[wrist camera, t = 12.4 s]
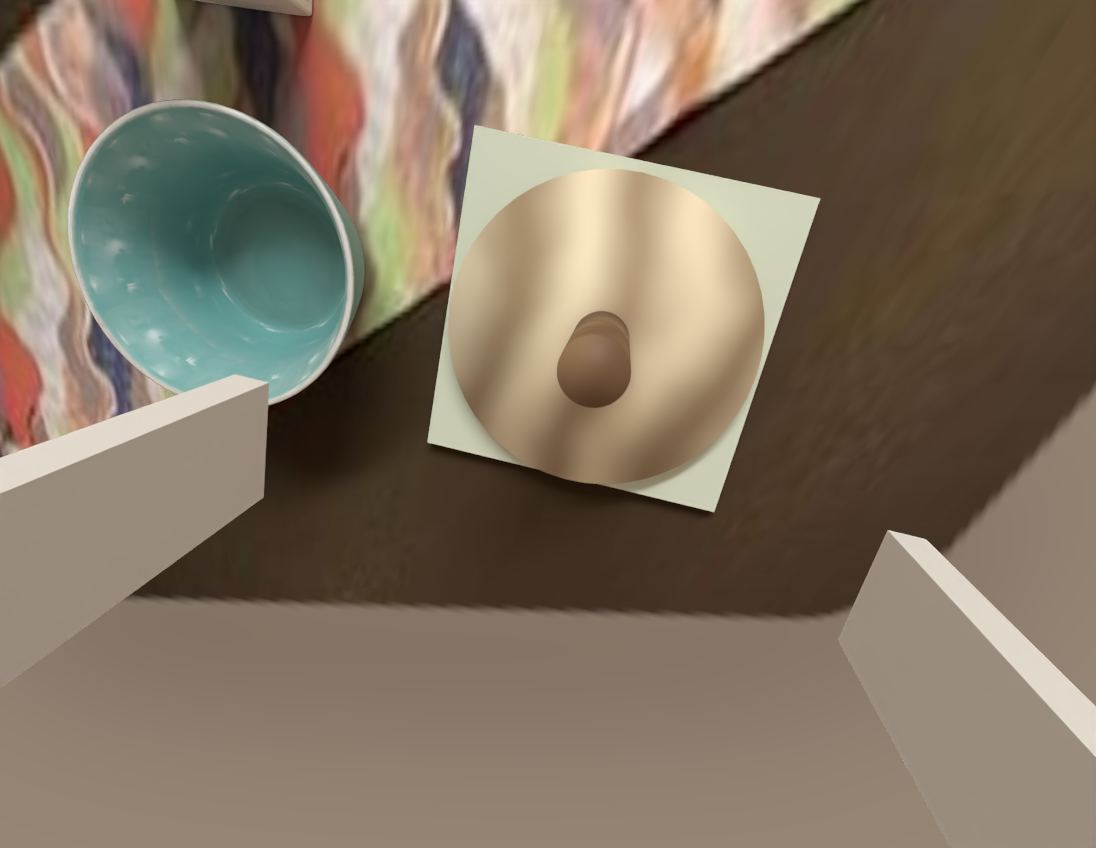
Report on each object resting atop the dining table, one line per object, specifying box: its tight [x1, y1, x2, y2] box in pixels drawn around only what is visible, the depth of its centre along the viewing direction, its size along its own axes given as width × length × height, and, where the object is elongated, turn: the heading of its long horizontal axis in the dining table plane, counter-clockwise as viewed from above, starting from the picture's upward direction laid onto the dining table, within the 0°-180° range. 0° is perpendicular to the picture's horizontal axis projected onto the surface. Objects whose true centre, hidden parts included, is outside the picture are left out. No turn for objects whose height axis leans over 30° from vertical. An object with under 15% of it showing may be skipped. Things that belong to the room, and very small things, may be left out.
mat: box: [428, 125, 820, 512], centre depth 36 cm, size 20×20×1 cm
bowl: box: [68, 99, 365, 405], centre depth 34 cm, size 16×16×8 cm
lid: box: [448, 169, 765, 484], centre depth 31 cm, size 19×19×10 cm
